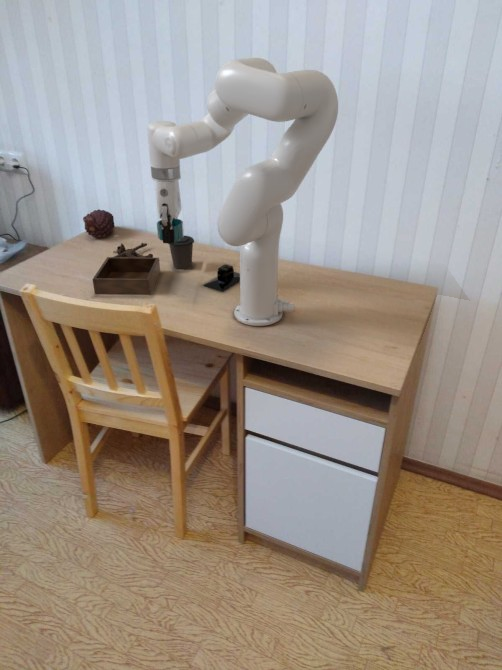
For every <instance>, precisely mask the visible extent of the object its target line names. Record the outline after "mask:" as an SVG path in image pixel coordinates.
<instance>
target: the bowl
mask: <svg viewBox="0 0 502 670" xmlns="http://www.w3.org/2000/svg"><path fill="white" fill-rule="evenodd" d="M168 222H169V223H170V220H168ZM156 229H157V239H158V240H160V241H162V242H163V239H162V219H160V220H158V221H157V222H156ZM173 229H174V237H175V242H178V241H180V239H182V238H183V237H184V236H185V231H184V230H185V229H184V221H183V220H182V219H180V218H177V219H174V218H173Z"/></svg>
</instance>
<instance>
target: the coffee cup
mask: <svg viewBox="0 0 502 670" xmlns="http://www.w3.org/2000/svg"><path fill="white" fill-rule="evenodd" d="M194 243H195V239H194V238H193V236H189V235H184V237H183V238H182V239H180V241H178V242H175V243H167V244H168V245H169V250H170V257H171V258H172V259H171V261H172V265H173V268H174V269H175V270H179V271H185V270H188V269H190V268H191V269H192V265H193V249H194V248H193V247H194Z"/></svg>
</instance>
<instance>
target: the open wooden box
mask: <svg viewBox="0 0 502 670" xmlns="http://www.w3.org/2000/svg"><path fill="white" fill-rule="evenodd" d="M160 274H161V264H160V257H153V258H143V257H137V256H136V257H126V256H122V257H114V256H111V257H110V256H107V257H106V258H105V260H104V261H103V263H102V264H101V266H100V267H99V269H98V270H97V272H96V273H95V275H94V276H93V278H92V284H93V291H94V295H125V296H126V295H127V296H128V295H129V296H130V295H131V296H132V295H133V296H134V295H137V296H138V295H139V296H151V294H152V293H153V290H154V287H155V286H156V282H157V281H158V278H159V276H160Z"/></svg>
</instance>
